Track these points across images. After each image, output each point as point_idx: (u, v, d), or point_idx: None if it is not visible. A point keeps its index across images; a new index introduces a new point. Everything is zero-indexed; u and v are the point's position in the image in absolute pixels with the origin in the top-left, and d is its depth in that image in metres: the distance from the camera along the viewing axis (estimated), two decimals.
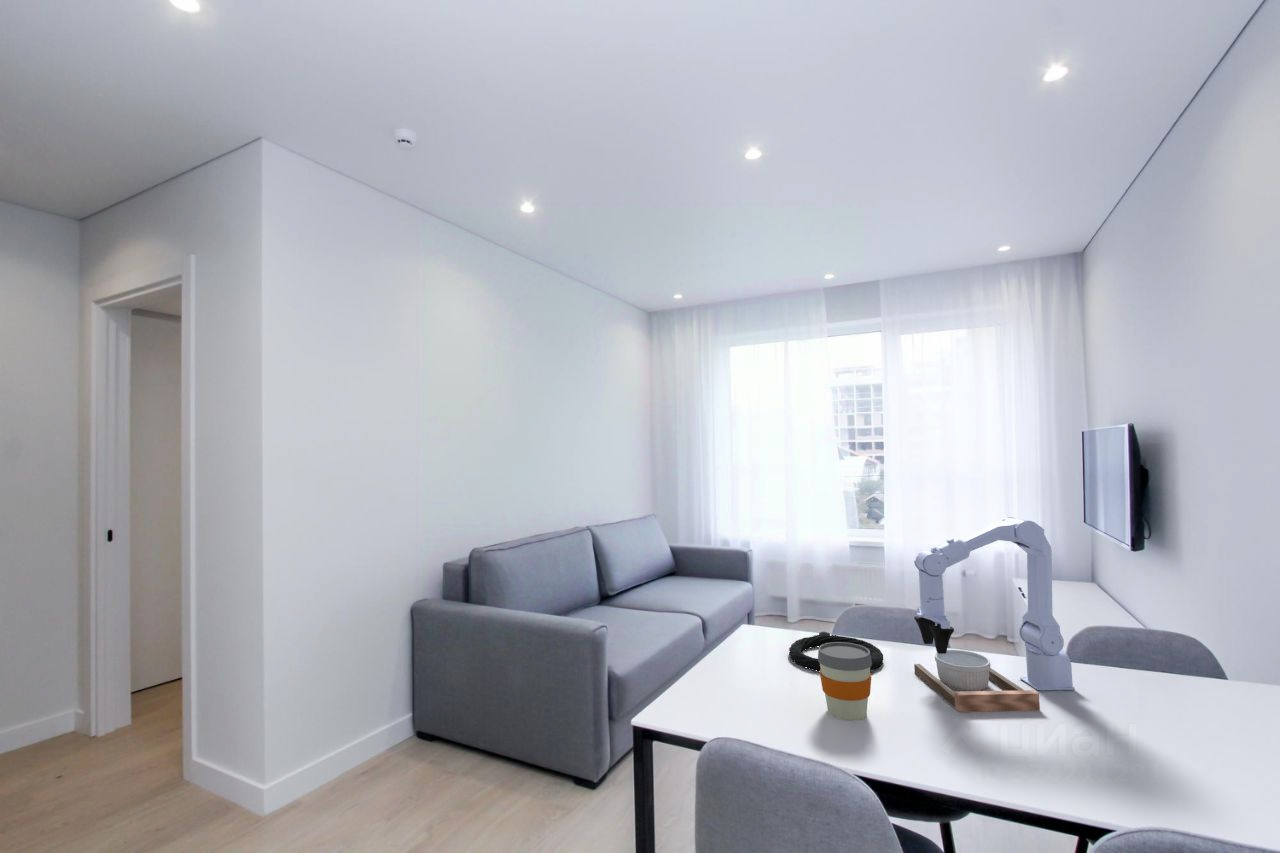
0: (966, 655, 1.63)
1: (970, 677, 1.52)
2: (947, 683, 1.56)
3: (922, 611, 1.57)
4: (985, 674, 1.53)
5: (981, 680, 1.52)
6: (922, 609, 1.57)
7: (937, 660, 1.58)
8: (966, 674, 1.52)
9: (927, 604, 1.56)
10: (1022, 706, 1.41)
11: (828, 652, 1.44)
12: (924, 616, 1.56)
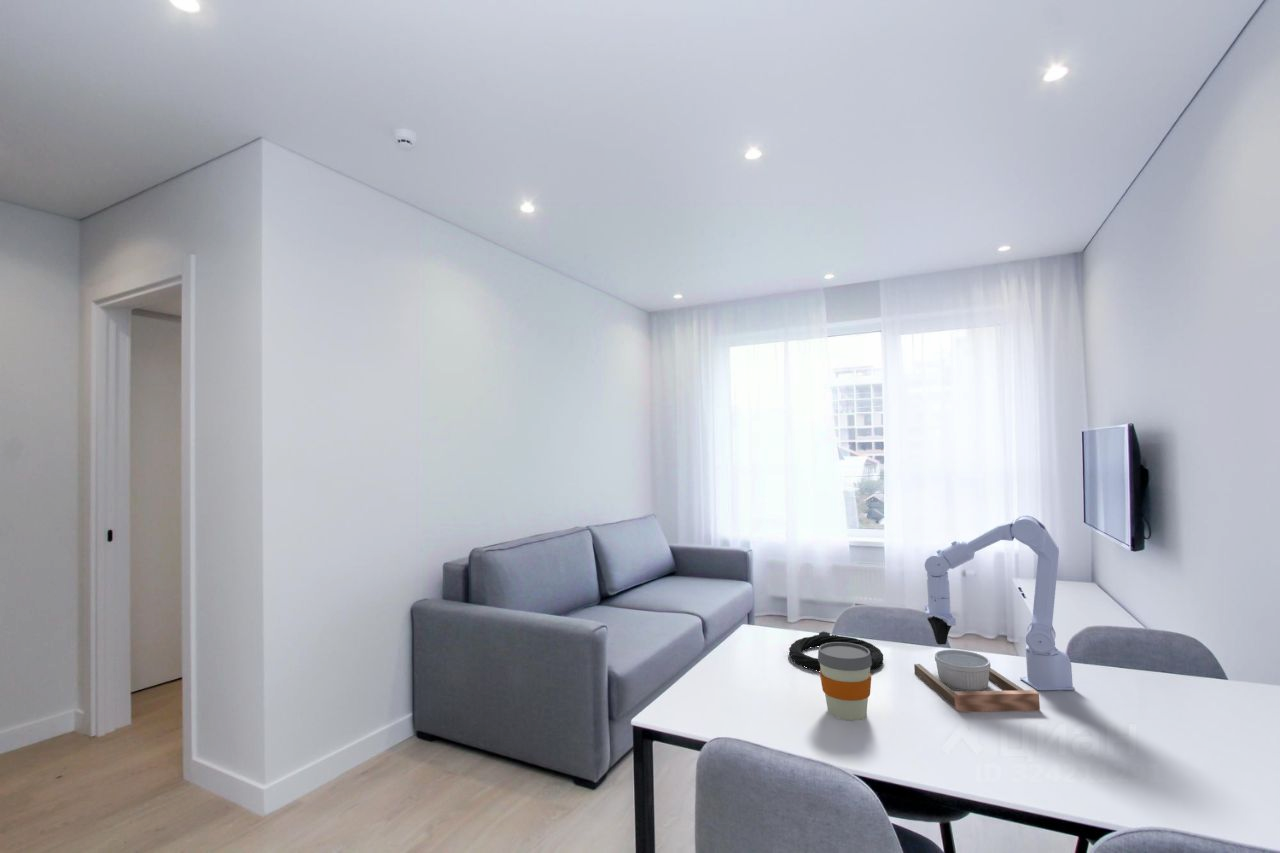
0: (966, 655, 1.63)
1: (970, 677, 1.52)
2: (947, 683, 1.56)
3: (930, 609, 1.70)
4: (985, 674, 1.53)
5: (981, 680, 1.52)
6: (930, 607, 1.70)
7: (937, 660, 1.58)
8: (966, 674, 1.52)
9: (934, 602, 1.68)
10: (1022, 706, 1.41)
11: (828, 652, 1.44)
12: (931, 614, 1.69)
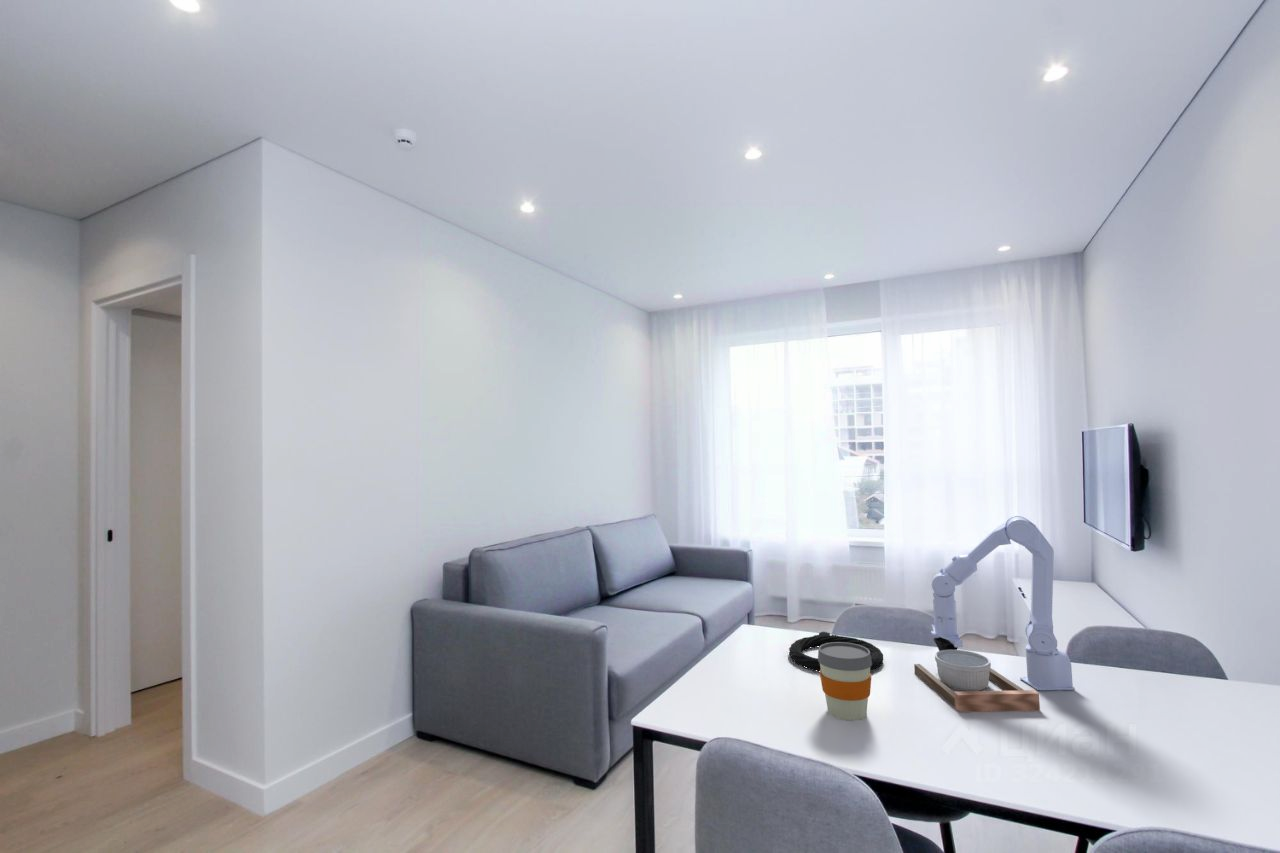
0: (966, 655, 1.63)
1: (970, 677, 1.52)
2: (947, 683, 1.56)
3: (936, 630, 1.67)
4: (985, 674, 1.53)
5: (981, 680, 1.52)
6: (936, 628, 1.67)
7: (937, 660, 1.58)
8: (966, 674, 1.52)
9: (941, 623, 1.65)
10: (1022, 706, 1.41)
11: (828, 652, 1.44)
12: (938, 635, 1.65)
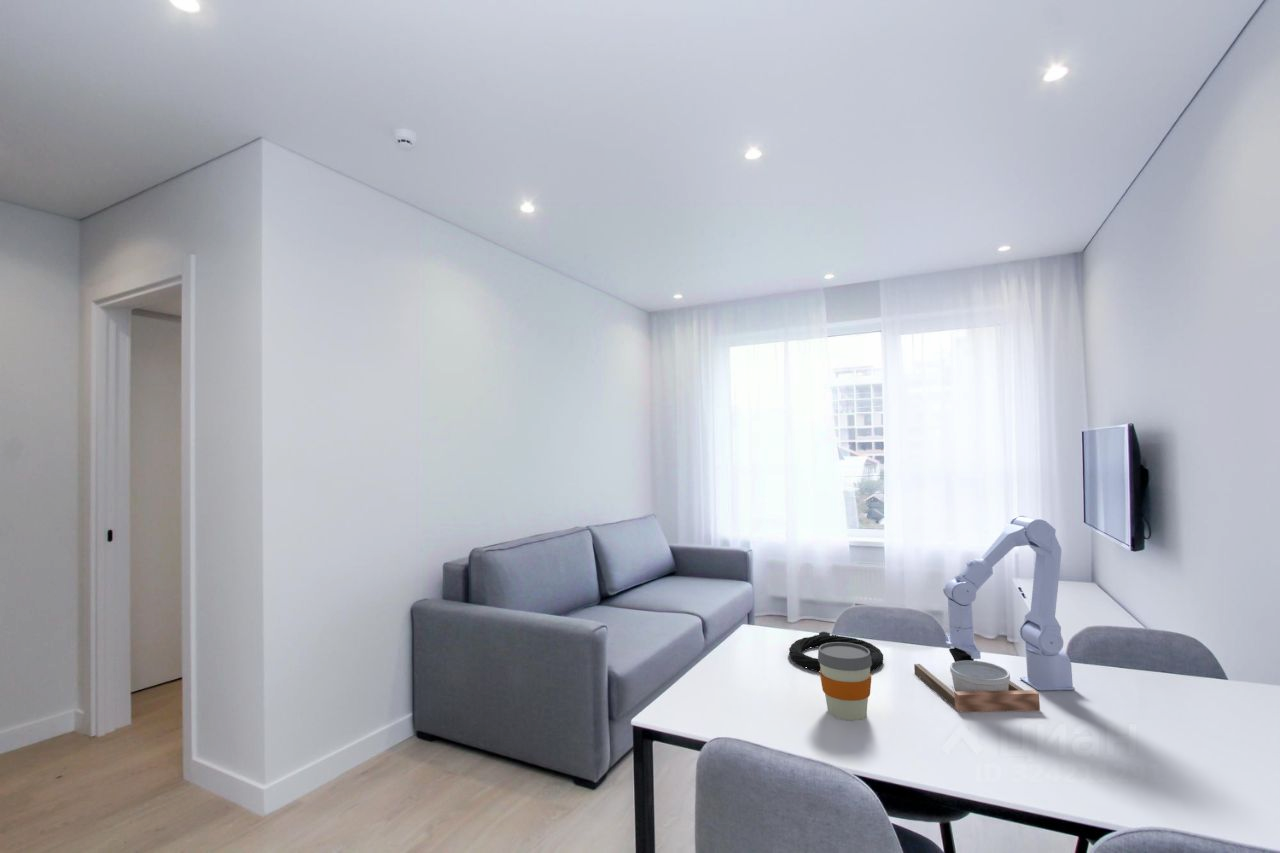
0: (983, 666, 1.54)
1: (988, 690, 1.43)
2: None
3: (951, 640, 1.58)
4: (1004, 687, 1.44)
5: None
6: (951, 638, 1.58)
7: (953, 672, 1.50)
8: (984, 687, 1.43)
9: (956, 633, 1.56)
10: (1022, 706, 1.41)
11: (828, 652, 1.44)
12: (953, 645, 1.57)
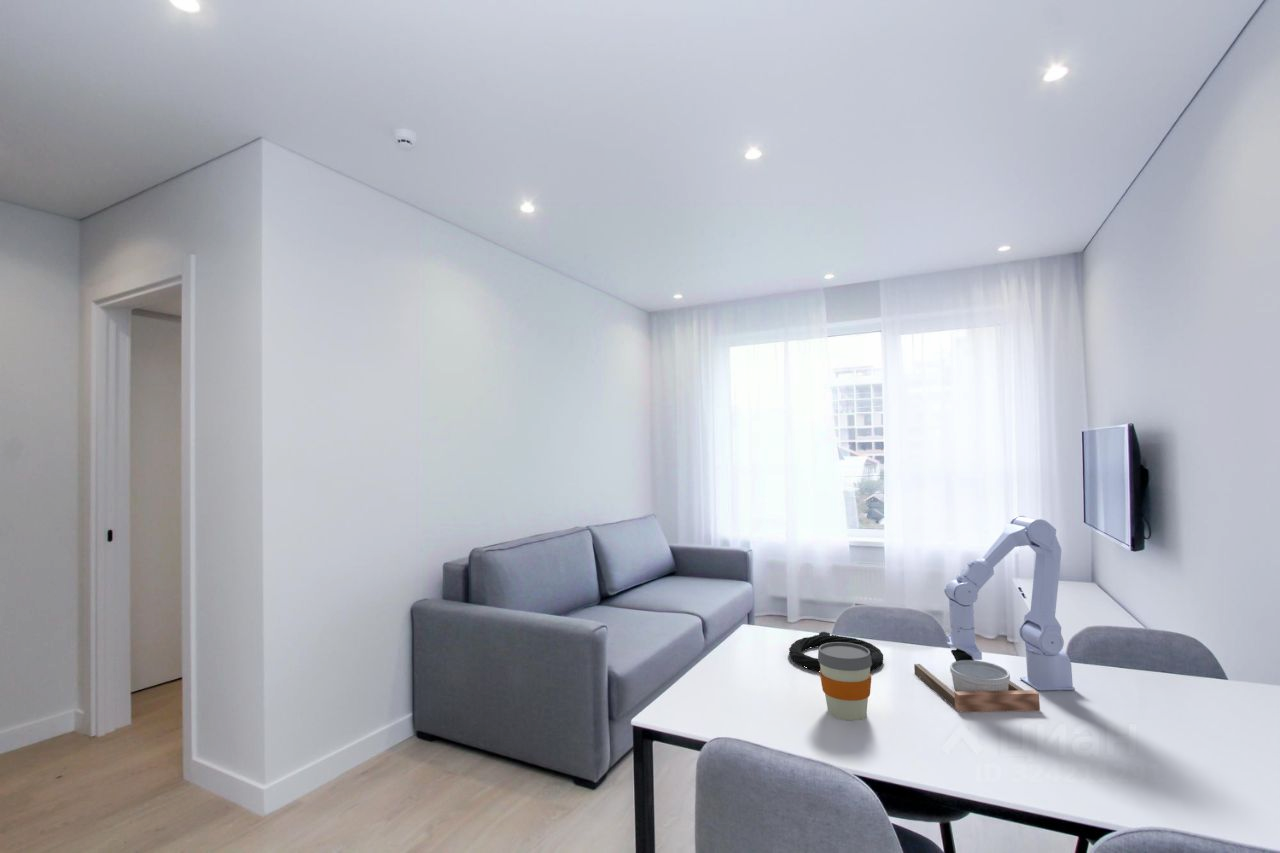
0: (983, 666, 1.54)
1: (988, 690, 1.43)
2: None
3: (952, 640, 1.57)
4: (1004, 687, 1.44)
5: None
6: (952, 638, 1.57)
7: (953, 672, 1.50)
8: (984, 687, 1.43)
9: (958, 633, 1.55)
10: (1022, 706, 1.41)
11: (828, 652, 1.44)
12: (955, 646, 1.56)
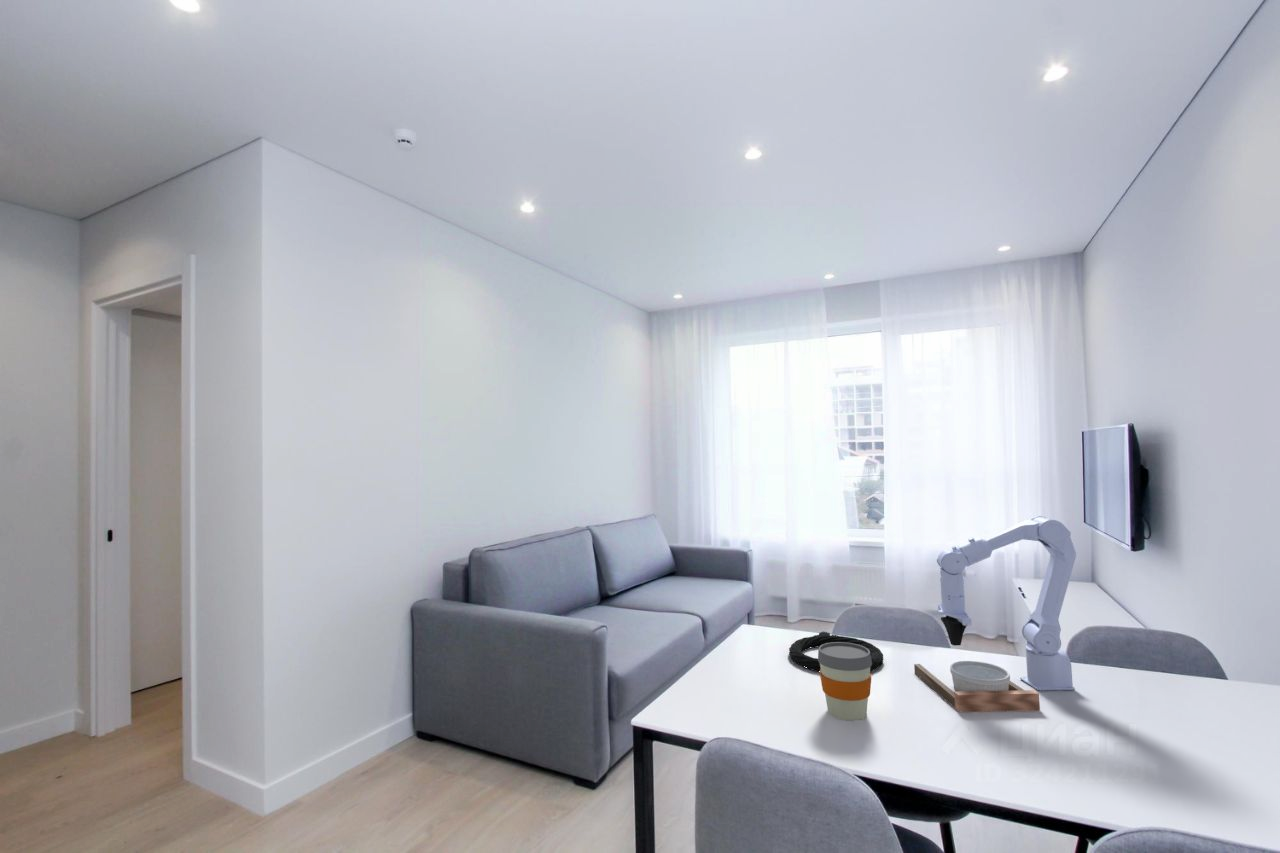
0: (983, 667, 1.54)
1: None
2: None
3: (943, 608, 1.62)
4: (1004, 688, 1.44)
5: None
6: (943, 606, 1.62)
7: (953, 672, 1.50)
8: (984, 688, 1.44)
9: (948, 601, 1.60)
10: (1022, 706, 1.41)
11: (828, 652, 1.44)
12: (945, 613, 1.61)
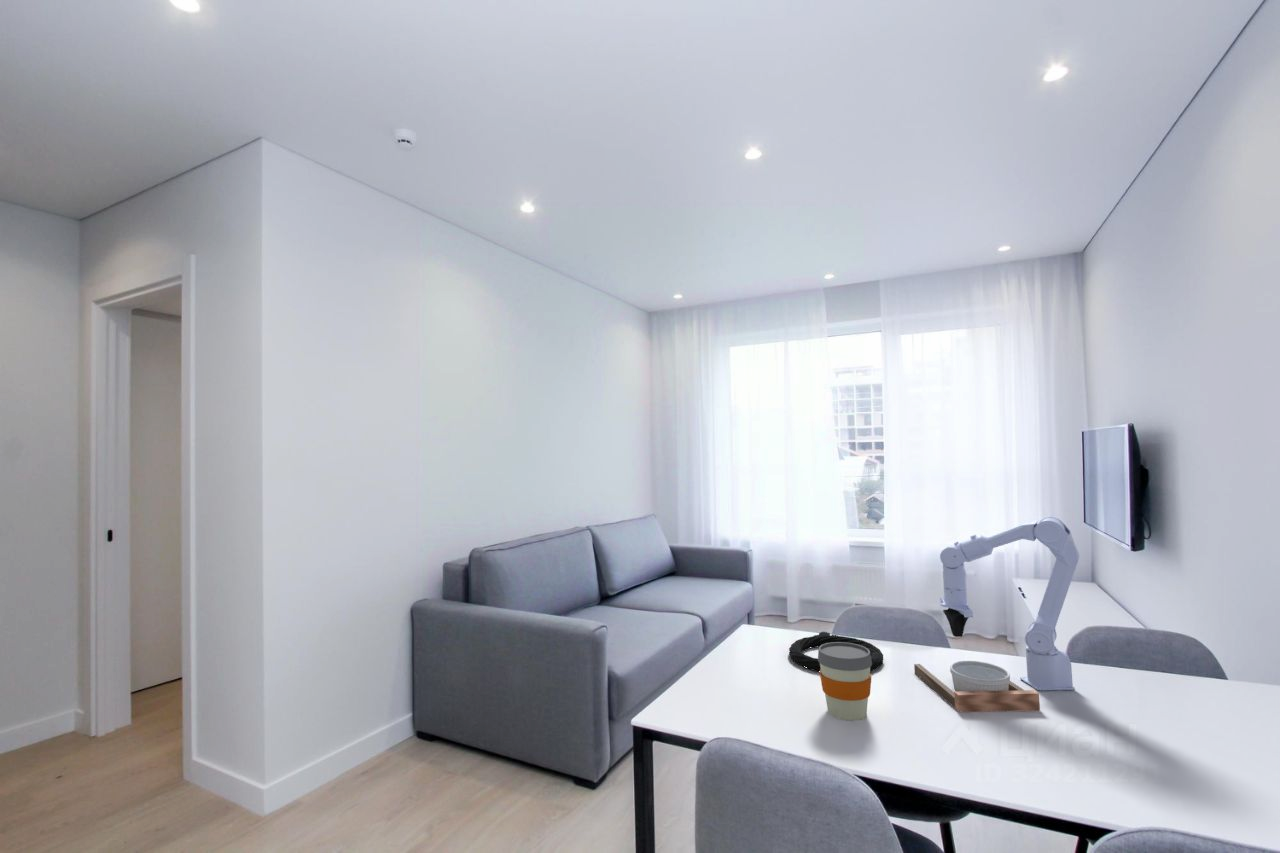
0: (983, 667, 1.54)
1: None
2: None
3: (946, 601, 1.68)
4: (1004, 688, 1.44)
5: None
6: (946, 599, 1.68)
7: (953, 672, 1.50)
8: (984, 688, 1.44)
9: (950, 594, 1.67)
10: (1022, 706, 1.41)
11: (828, 652, 1.44)
12: (948, 606, 1.67)
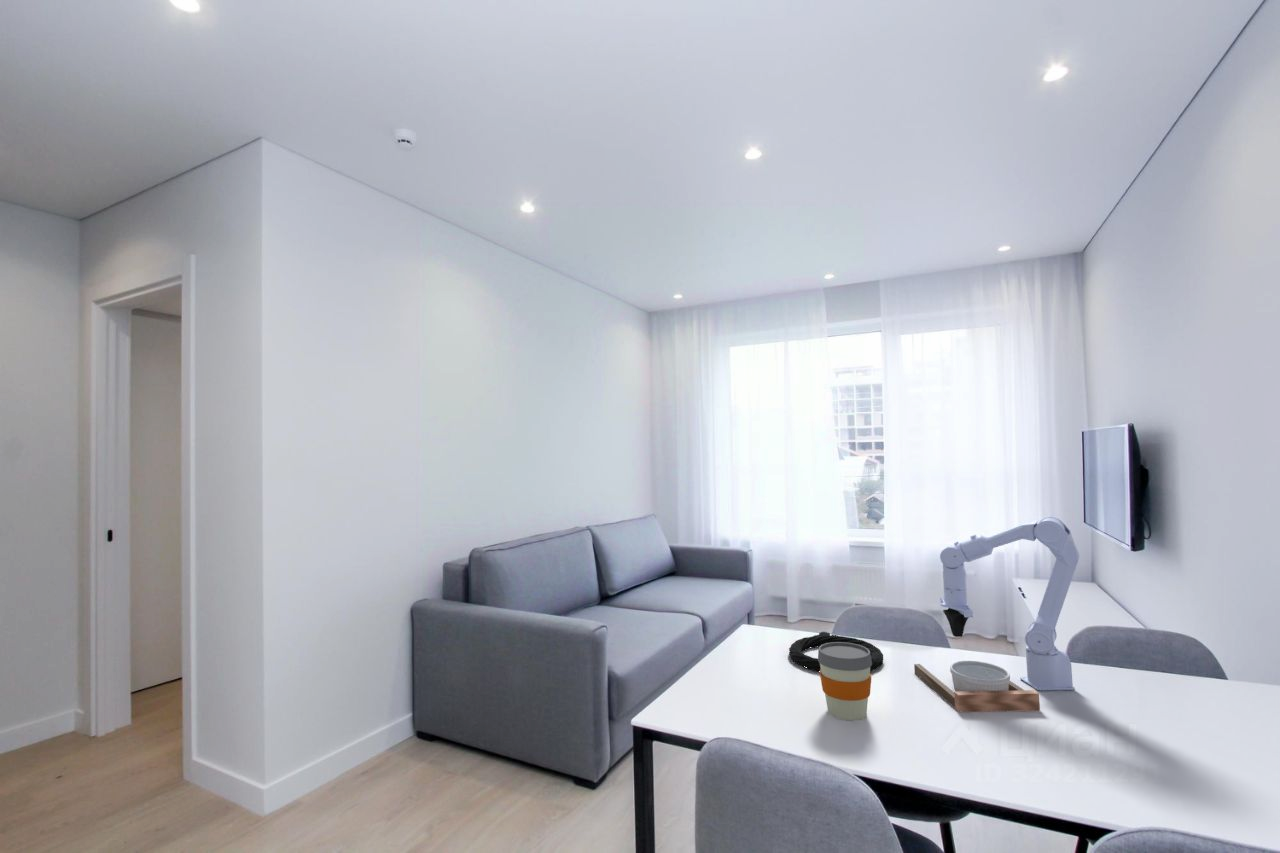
0: (983, 667, 1.54)
1: None
2: None
3: (946, 601, 1.68)
4: (1004, 688, 1.44)
5: None
6: (946, 599, 1.68)
7: (953, 672, 1.50)
8: (984, 688, 1.44)
9: (950, 594, 1.67)
10: (1022, 706, 1.41)
11: (828, 652, 1.44)
12: (948, 606, 1.67)
